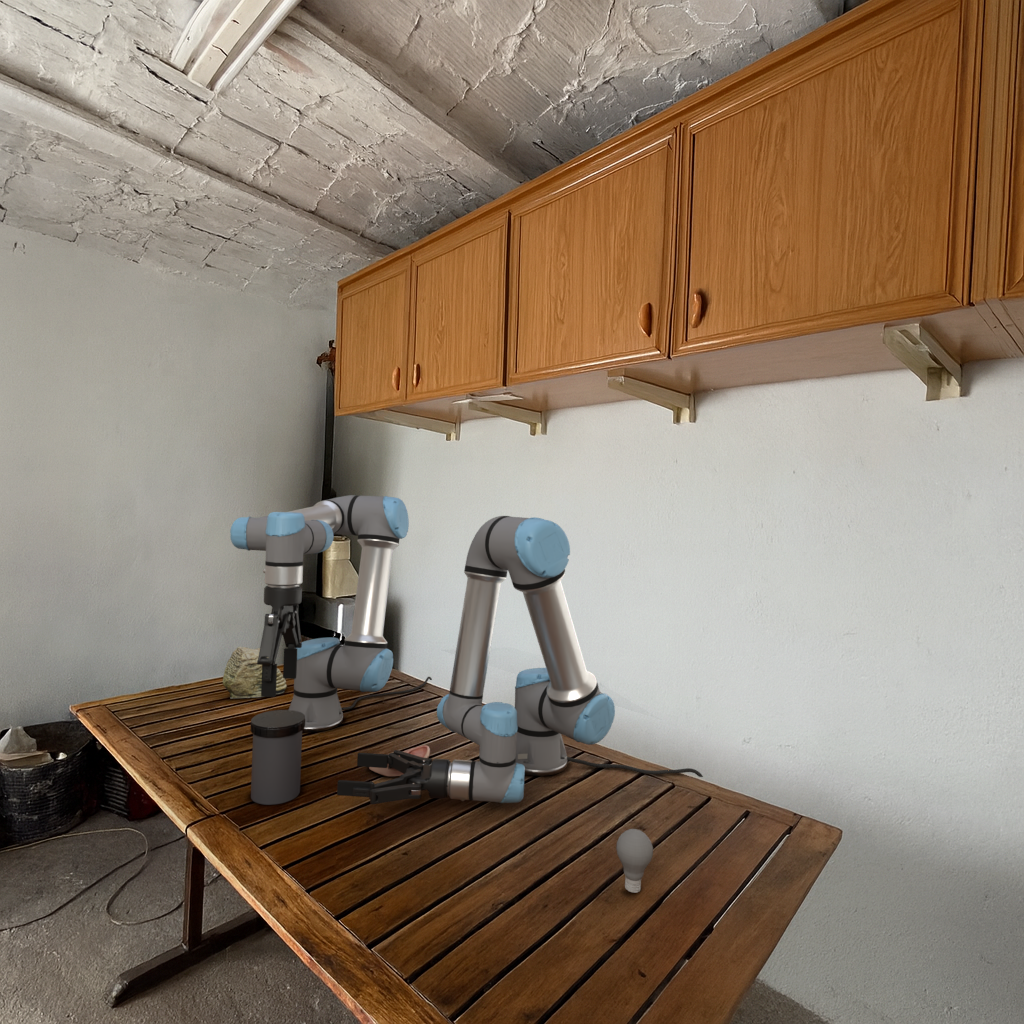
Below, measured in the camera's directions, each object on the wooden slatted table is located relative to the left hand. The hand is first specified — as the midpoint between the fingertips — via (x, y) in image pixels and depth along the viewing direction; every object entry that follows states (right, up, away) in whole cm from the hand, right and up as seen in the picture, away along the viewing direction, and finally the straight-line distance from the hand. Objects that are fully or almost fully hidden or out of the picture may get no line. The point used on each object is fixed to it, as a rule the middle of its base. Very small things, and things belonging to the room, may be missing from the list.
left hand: (279, 686), depth 134 cm
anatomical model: (+23, -24, +16) cm, 36 cm away
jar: (-1, -23, 0) cm, 23 cm away
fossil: (-31, -20, +64) cm, 74 cm away
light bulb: (+69, -26, -28) cm, 79 cm away
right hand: (+15, -17, -2) cm, 23 cm away
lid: (0, -7, 0) cm, 7 cm away
